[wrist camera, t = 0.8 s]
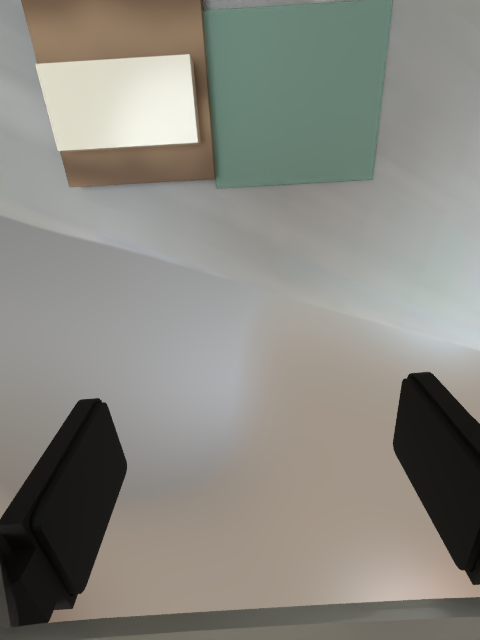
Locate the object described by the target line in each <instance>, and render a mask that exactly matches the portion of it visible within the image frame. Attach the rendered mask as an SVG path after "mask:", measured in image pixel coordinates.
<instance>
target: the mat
mask: <svg viewBox="0 0 480 640" xmlns="http://www.w3.org/2000/svg"><path fill="white" fill-rule="evenodd" d="M392 3H393V0H359V1H344V2H329V3H313V4H298V5H283V6H267V7H252V8H237V9H221V10H206V11H203V19H204V32H205V45H206V58H207V71H208V84H209V97H210V109H211V122H212V135H213V148H214V161H215V174H216V187H217V188H233V187H250V186H268V185H285V184H302V183H320V182H337V181H355V180H372V179H373V171H374V163H375V154H376V145H377V136H378V127H379V118H380V109H381V101H382V92H383V83H384V74H385V65H386V56H387V47H388V38H389V30H390V21H391V12H392Z"/></svg>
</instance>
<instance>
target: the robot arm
mask: <svg viewBox="0 0 480 640" xmlns="http://www.w3.org/2000/svg"><path fill="white" fill-rule="evenodd" d="M393 447H394V451H395V454H396V456H397V458H398V459H399V461H400V463H401V465H402V467H403V469H404V470H405V472H406V474H407V476H408V478H409V480H410V482H411V483H412V485H413V487H414V489H415V491H416V493H417V494H418V496H419V498H420V500H421V501H422V503H423V505H424V507H425V509H426V511H427V513H428V515H429V516H430V518H431V520H432V522H433V524H434V526H435V528H436V529H437V531H438V533H439V535H440V537H441V539H442V540H443V542H444V544H445V546H446V547H447V550H448V551H449V553H450V555H451V557H452V559H453V560H454V562H455V564H456V566H457V567H458V568H459V569H460V570H465V571H466V573H467V575H468V576H469V578H470V580H471V582H472V584H473V585H479V584H480V424H479V423H478V422H477V421H476V420H475V419H474V418H473V417H472V416H471V415H470V414H469V413H468V412H467V411H466V410H465V409H464V407H463V406H462V405H461V404H460V403H459V402H458V401H457V400H456V399H455V398H454V397H453V396H452V394H451V393H450V392H449V391H448V390H447V389H446V388H445V387H444V386H443V385H442V384H441V383H440V381H439V380H438V379H437V378H436V377H435V376H434V375H433V374H432V373H430V372H422V373H411V374H409V375H408V377H407V379H403V381H402V386H401V393H400V400H399V406H398V412H397V419H396V426H395V433H394V439H393ZM126 471H127V462H126V459H125V456H124V453H123V450H122V447H121V444H120V441H119V438H118V435H117V432H116V429H115V426H114V423H113V421H112V417H111V415H110V411H109V408H108V406H107V404H106V403H102V401H101V400H100V399H98V398H96V399H83V400H79V401H78V402H77V404H76V405H75V407H74V408H73V410H72V411H71V413H70V414H69V416H68V417H67V419H66V420H65V422H64V423H63V425H62V426H61V428H60V429H59V431H58V433H57V434H56V435H55V437H54V439H53V440H52V441H51V443H50V445H49V446H48V448H47V449H46V451H45V452H44V454H43V455H42V457H41V458H40V460H39V461H38V463H37V464H36V466H35V467H34V469H33V470H32V472H31V473H30V475H29V476H28V478H27V479H26V481H25V482H24V484H23V485H22V487H21V489H20V490H19V492H18V493H17V495H16V496H15V498H14V499H13V501H12V502H11V504H10V505H9V507H8V508H7V510H6V511H5V513H4V514H3V516H2V517H1V519H0V640H480V597H475V598H444V599H422V600H403V601H384V602H366V603H349V604H348V603H346V604H328V605H311V606H293V607H277V608H259V609H242V610H227V611H209V612H193V613H178V614H162V615H146V616H131V617H116V618H100V619H89V620H78V621H65V622H54V623H48V622H49V620H50V618H51V615H52V613H53V610H60V609H72V608H73V606H74V604H75V600H76V598H77V595H78V594H81V593H82V592H83V591H84V589H85V587H86V585H87V582H88V579H89V577H90V574H91V571H92V568H93V565H94V562H95V560H96V557H97V554H98V551H99V548H100V546H101V543H102V540H103V537H104V534H105V531H106V529H107V525H108V523H109V520H110V517H111V514H112V511H113V509H114V506H115V503H116V500H117V498H118V495H119V492H120V489H121V486H122V483H123V480H124V478H125V475H126Z"/></svg>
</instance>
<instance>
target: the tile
mask: <svg viewBox="0 0 480 640" xmlns="http://www.w3.org/2000/svg"><path fill="white" fill-rule="evenodd" d="M35 65H36V69H37V73H38V77H39V80H40V84H41V88H42V92H43V96H44V100H45V103H46V107H47V111H48V115H49V119H50V123H51V126H52V130H53V134H54V138H55V142H56V146H57V149H58V151H68V152H75V151H92V150H108V149H125V148H142V147H159V146H176V145H193V144H201V140H200V130H199V119H198V108H197V97H196V86H195V75H194V64H193V61H192V59H191V56H190V54H185V55H169V56H153V57H137V58H121V59H106V60H90V61H74V62H58V63H42V64H35Z"/></svg>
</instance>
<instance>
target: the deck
mask: <svg viewBox="0 0 480 640" xmlns="http://www.w3.org/2000/svg"><path fill="white" fill-rule="evenodd" d="M21 2H22V6H23V10H24V13H25V17H26V21H27V25H28V29H29V33H30V37H31V40H32V44H33V48H34V52H35V56H36V60H37V64H42V63H58V62H74V61H90V60H106V59H121V58H137V57H153V56H169V55H185V54H190V56H191V59H192V61H193V64H194V75H195V86H196V97H197V108H198V119H199V130H200V140H201V144H193V145H176V146H159V147H142V148H125V149H108V150H92V151H75V152H68V151H60V153H61V156H62V160H63V164H64V168H65V172H66V176H67V180H68V184H69V187H83V186H100V185H118V184H135V183H152V182H169V181H187V180H204V179H215V178H216V174H215V161H214V148H213V135H212V122H211V109H210V97H209V84H208V71H207V58H206V45H205V32H204V19H203V4H202V0H21Z"/></svg>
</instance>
